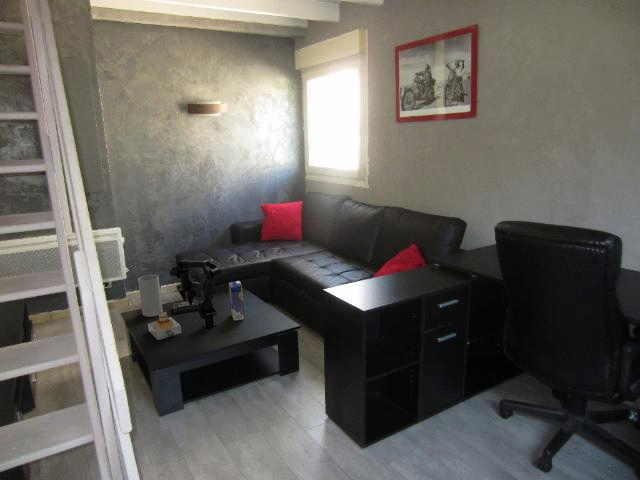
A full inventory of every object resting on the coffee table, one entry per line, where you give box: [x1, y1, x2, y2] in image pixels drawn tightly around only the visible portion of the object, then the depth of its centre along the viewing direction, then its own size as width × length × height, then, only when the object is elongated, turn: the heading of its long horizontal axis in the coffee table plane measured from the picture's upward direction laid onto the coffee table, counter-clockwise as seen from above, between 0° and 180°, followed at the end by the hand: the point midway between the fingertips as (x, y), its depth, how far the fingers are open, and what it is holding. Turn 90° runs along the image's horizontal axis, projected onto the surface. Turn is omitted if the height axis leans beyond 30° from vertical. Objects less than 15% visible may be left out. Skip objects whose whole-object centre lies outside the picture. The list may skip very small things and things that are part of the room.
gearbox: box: [147, 316, 182, 341], centre depth 266 cm, size 19×14×7 cm
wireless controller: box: [172, 282, 204, 315], centre depth 301 cm, size 20×14×17 cm
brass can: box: [158, 311, 169, 324], centre depth 266 cm, size 5×5×7 cm
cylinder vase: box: [137, 274, 164, 318], centre depth 294 cm, size 12×12×25 cm
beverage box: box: [228, 280, 245, 321], centre depth 285 cm, size 7×11×22 cm, turn 18°
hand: (187, 302), depth 281 cm, fingers open, 9 cm apart
